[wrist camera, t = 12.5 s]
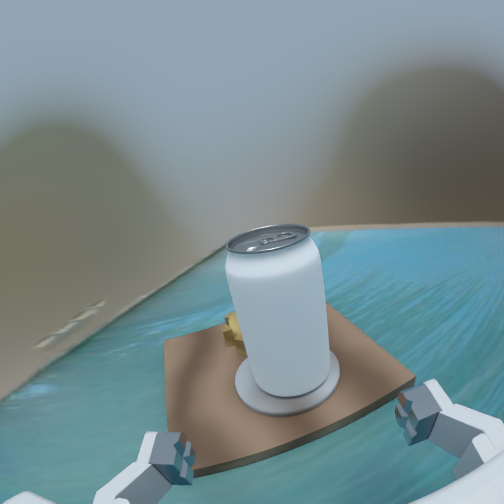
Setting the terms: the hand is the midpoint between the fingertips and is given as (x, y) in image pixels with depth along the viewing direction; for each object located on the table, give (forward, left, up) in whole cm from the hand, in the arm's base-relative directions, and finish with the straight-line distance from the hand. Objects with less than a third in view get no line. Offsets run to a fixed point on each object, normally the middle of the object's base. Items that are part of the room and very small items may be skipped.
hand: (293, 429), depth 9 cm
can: (-4, -11, -8) cm, 14 cm away
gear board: (-2, -15, -10) cm, 18 cm away
